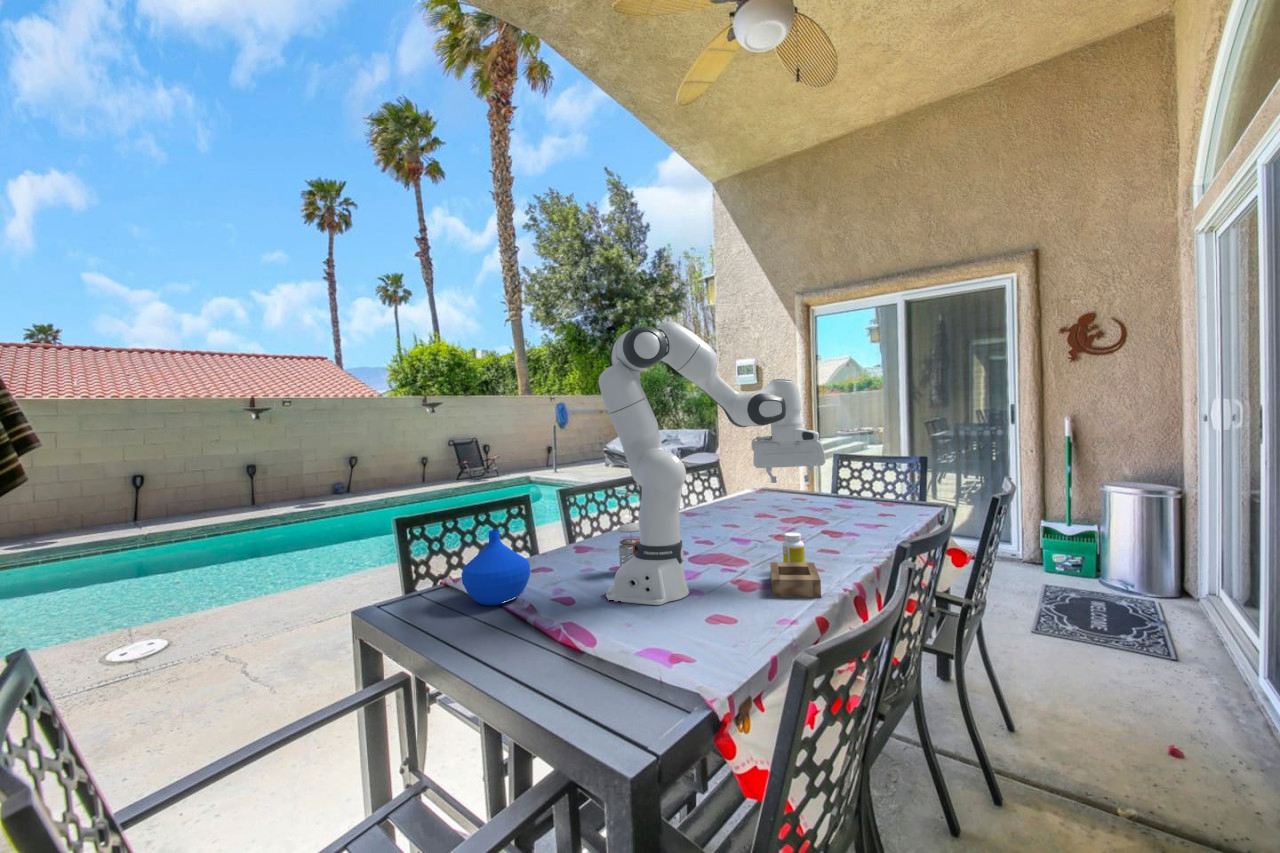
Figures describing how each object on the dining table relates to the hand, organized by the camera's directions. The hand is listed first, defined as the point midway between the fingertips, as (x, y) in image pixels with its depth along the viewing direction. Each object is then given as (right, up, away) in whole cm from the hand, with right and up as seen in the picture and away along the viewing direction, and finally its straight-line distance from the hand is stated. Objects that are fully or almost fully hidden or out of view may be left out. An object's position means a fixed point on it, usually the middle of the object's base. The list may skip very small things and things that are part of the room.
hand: (790, 482), depth 159 cm
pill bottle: (+2, -27, +3) cm, 27 cm away
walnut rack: (-2, -27, -11) cm, 30 cm away
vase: (-83, -32, -8) cm, 89 cm away
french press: (-45, -29, +11) cm, 55 cm away
